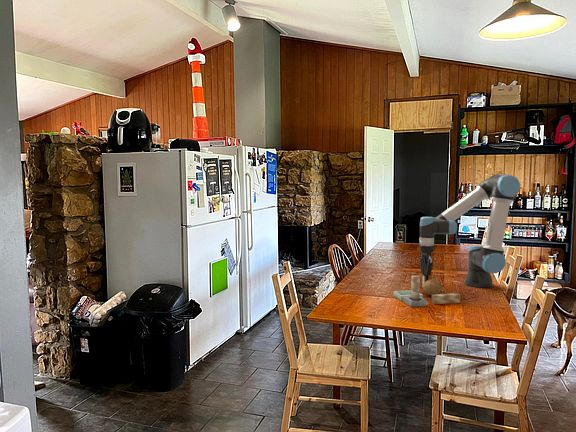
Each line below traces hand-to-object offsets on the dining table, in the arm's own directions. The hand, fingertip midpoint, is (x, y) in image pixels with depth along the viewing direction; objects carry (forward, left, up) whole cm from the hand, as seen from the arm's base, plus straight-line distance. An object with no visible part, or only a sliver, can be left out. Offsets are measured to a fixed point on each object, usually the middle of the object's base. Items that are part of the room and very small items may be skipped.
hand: (425, 286), depth 252 cm
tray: (+15, +10, -3) cm, 18 cm away
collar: (+16, +21, -3) cm, 27 cm away
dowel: (+16, +21, -3) cm, 27 cm away
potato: (0, +8, -3) cm, 8 cm away
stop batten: (0, +22, -3) cm, 22 cm away
